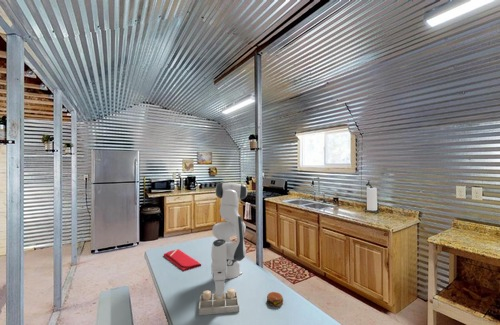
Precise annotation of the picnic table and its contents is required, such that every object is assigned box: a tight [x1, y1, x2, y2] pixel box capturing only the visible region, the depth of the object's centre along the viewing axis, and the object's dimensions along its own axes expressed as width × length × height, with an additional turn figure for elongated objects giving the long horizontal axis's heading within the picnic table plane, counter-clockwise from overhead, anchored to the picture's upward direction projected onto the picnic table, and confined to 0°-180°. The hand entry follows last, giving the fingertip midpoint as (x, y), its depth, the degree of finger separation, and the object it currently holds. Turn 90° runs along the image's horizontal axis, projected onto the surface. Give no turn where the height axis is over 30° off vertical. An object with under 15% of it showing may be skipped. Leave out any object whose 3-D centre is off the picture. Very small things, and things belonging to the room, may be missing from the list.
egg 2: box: [214, 289, 225, 301], centre depth 132 cm, size 5×5×6 cm
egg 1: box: [202, 290, 212, 301], centre depth 139 cm, size 5×5×6 cm
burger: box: [266, 291, 284, 307], centre depth 140 cm, size 10×9×5 cm
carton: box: [198, 291, 240, 316], centre depth 136 cm, size 15×22×4 cm
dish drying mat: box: [163, 249, 202, 272], centre depth 201 cm, size 16×41×4 cm, turn 41°
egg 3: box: [226, 288, 236, 299], centre depth 140 cm, size 5×5×6 cm
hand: (219, 295), depth 132 cm, fingers closed on egg 2, 5 cm apart
